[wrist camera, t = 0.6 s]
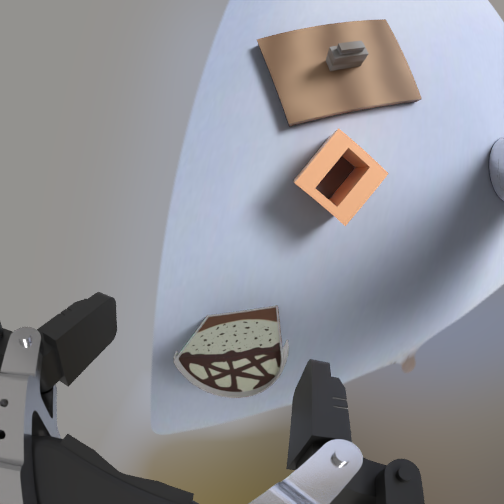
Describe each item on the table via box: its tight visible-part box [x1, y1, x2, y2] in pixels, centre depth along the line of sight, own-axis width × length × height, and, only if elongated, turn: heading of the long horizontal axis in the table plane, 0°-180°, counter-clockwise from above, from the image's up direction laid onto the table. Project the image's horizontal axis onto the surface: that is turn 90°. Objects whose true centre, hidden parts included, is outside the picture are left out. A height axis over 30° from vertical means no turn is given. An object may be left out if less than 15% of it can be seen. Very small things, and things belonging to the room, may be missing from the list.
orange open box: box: [294, 129, 388, 226], centre depth 26 cm, size 6×6×6 cm
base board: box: [257, 20, 421, 126], centre depth 21 cm, size 16×11×6 cm
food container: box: [173, 305, 289, 398], centre depth 31 cm, size 12×6×10 cm, turn 104°
